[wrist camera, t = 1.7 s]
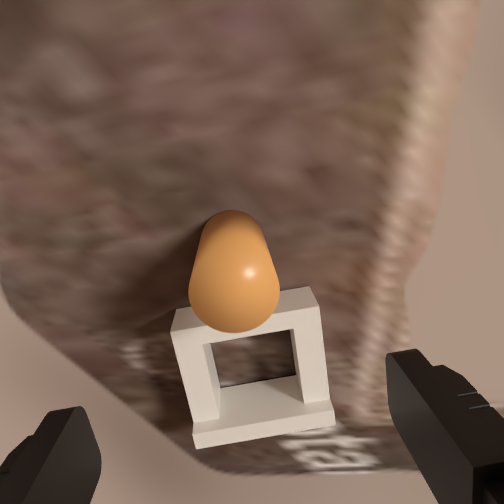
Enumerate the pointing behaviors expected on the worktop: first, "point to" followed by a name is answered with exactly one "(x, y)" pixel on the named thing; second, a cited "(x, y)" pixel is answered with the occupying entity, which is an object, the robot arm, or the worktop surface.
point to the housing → (257, 393)
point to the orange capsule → (233, 275)
